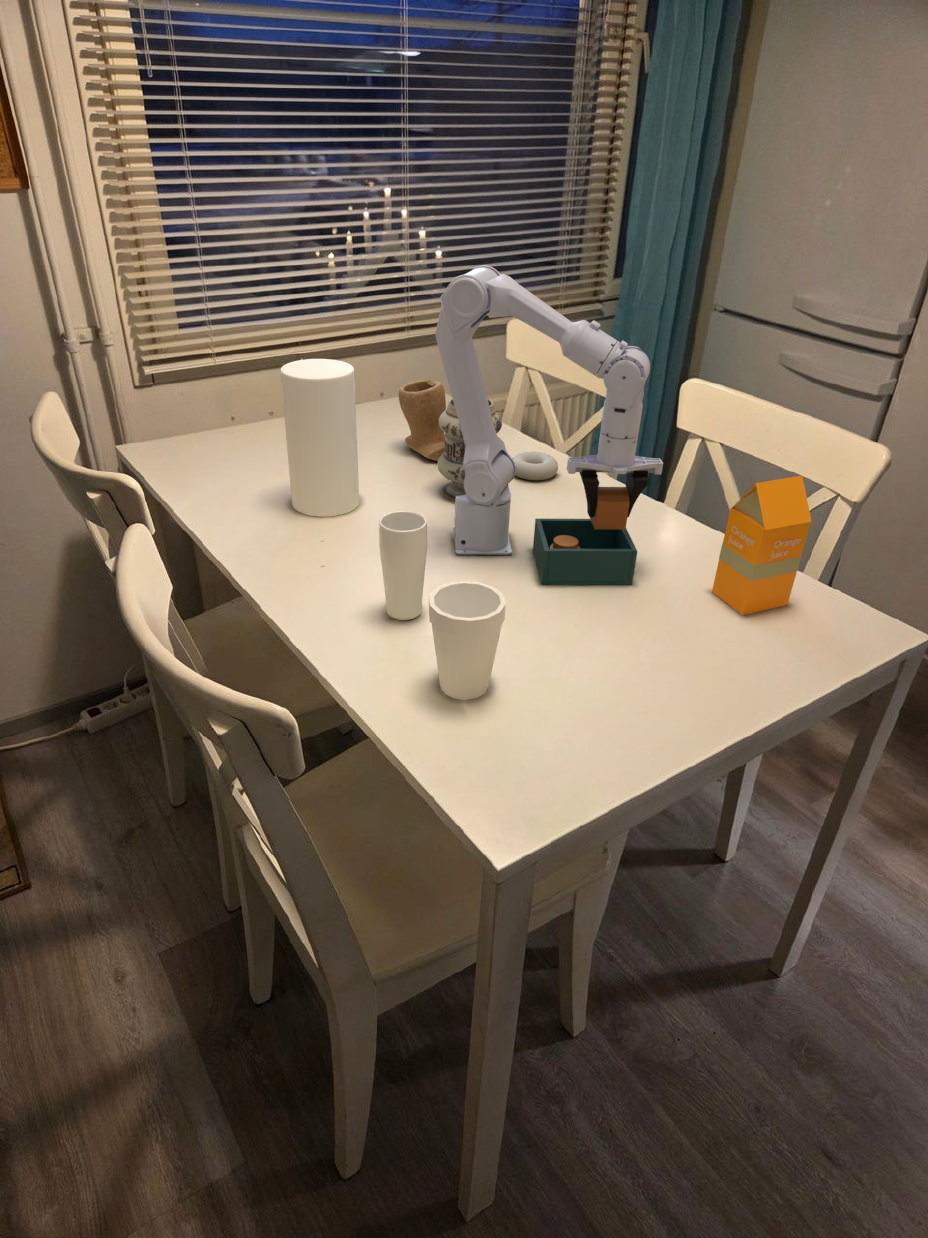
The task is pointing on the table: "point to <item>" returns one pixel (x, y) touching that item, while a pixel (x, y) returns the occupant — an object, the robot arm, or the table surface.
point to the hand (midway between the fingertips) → (608, 514)
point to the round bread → (565, 542)
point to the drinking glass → (403, 562)
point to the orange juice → (763, 546)
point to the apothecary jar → (456, 449)
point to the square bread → (611, 508)
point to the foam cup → (466, 635)
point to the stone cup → (424, 416)
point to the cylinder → (321, 436)
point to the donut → (535, 465)
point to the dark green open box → (583, 554)
